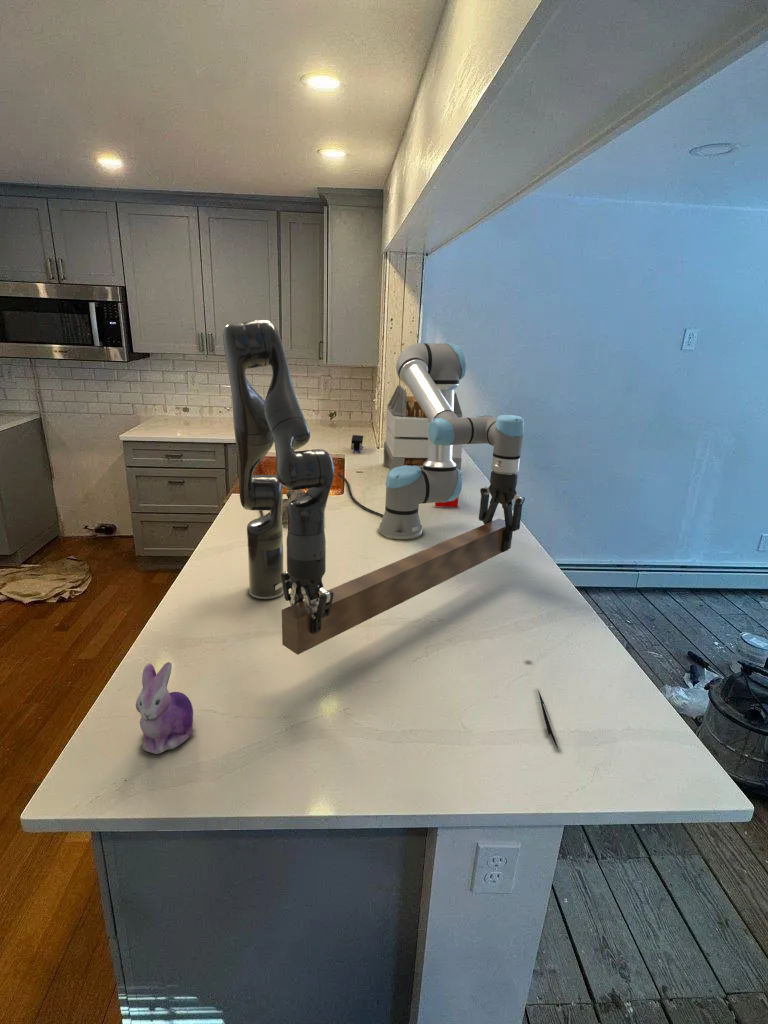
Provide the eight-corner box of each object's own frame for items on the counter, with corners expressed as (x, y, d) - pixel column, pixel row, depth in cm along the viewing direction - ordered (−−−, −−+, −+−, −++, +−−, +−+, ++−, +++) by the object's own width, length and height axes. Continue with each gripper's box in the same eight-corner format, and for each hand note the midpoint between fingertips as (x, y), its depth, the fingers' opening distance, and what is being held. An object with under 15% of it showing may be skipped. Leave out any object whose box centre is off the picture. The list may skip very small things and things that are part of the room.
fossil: (276, 495, 220) (305, 474, 215) (292, 513, 223) (321, 493, 218) (259, 520, 201) (291, 498, 196) (277, 540, 204) (309, 519, 199)
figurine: (143, 764, 96) (134, 690, 91) (137, 726, 105) (128, 657, 100) (201, 747, 100) (195, 676, 95) (190, 712, 109) (184, 645, 104)
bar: (496, 543, 171) (499, 518, 168) (510, 548, 168) (513, 522, 165) (282, 644, 116) (281, 609, 113) (297, 654, 113) (297, 619, 110)
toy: (452, 465, 253) (463, 475, 224) (451, 495, 256) (461, 508, 227) (425, 464, 253) (433, 474, 224) (424, 494, 256) (431, 507, 226)
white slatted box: (382, 463, 289) (386, 382, 275) (445, 464, 293) (451, 384, 279) (390, 482, 257) (394, 392, 243) (460, 483, 261) (468, 394, 247)
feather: (529, 666, 130) (534, 660, 129) (557, 753, 103) (564, 745, 103) (523, 662, 130) (528, 656, 129) (550, 748, 103) (556, 741, 103)
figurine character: (362, 456, 306) (363, 447, 319) (363, 443, 302) (363, 434, 316) (350, 456, 306) (351, 446, 319) (350, 442, 302) (351, 433, 316)
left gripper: (268, 545, 112) (270, 620, 118) (315, 568, 103) (315, 648, 109) (298, 535, 117) (299, 608, 123) (345, 557, 108) (343, 634, 114)
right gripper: (470, 466, 162) (463, 542, 170) (526, 481, 150) (515, 561, 158) (485, 462, 167) (478, 536, 175) (540, 476, 155) (529, 554, 163)
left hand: (306, 626), depth 116 cm, fingers closed on bar, 5 cm apart
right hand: (495, 547), depth 166 cm, fingers closed on bar, 5 cm apart
